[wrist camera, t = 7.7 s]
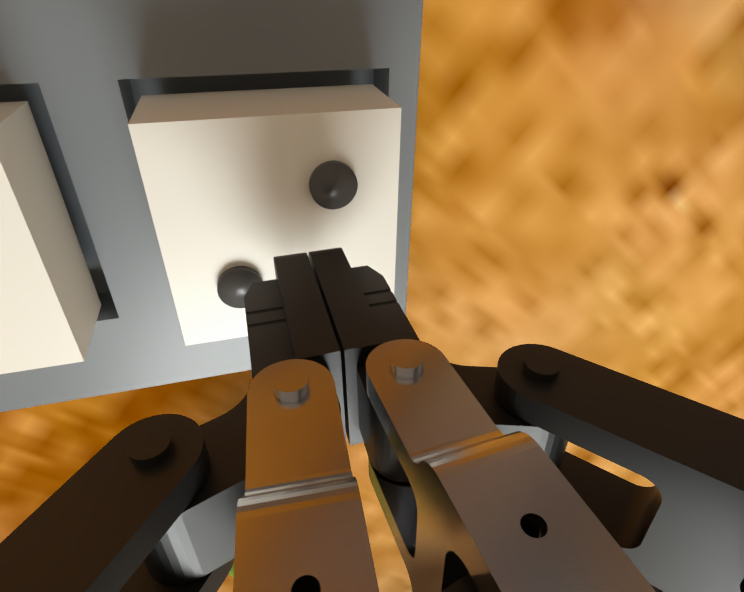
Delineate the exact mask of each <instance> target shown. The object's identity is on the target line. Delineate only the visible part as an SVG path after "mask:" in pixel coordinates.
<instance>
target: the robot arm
mask: <svg viewBox="0 0 744 592" xmlns="http://www.w3.org/2000/svg"><path fill="white" fill-rule="evenodd" d="M273 260H274V268H275V275H276V279H274V280H267V281H260V282H254V283H252V284H251V286H250V288H249V289H248V291H247V293H246V294H245V296H244V304H245V313H246V322H247V332H248V341H249V350H250V360H251V369H252V381H251V383H250V385H249V387H248V392H247V395H246V396H245V398H244V399H243V400H242V401H241V402H240V403H239V404H238V405H237V406H235V407H234V408H233V409H232V410H230V411H229V412H227V413H225V414H223V415H222V416H220V417H218V418H215V419H213V420H211V421H209V422H207V423H205V424H202V425H200V426H199V425H198V424H197V423H196V422H195V421H193V420H192V419H190V418H188V417H186V416H182V415H177V414H162V415H156V416H152V417H148V418H145V419H142V420H140V421H137V422H136V423H134V424H132V425H130V426H128V427H127V428H125V429H124V430H122V431H121V432H120V433H118V434H117V435H116V436H115V437H114V438H113V439H112V440H111V441H109V442H108V443H107V444H106V445H105V446H104V447H103V448H102V449H101V450H100V451H99V452H98V453H97V454H96V455H94V456H93V457H92V458H91V459H90V460H89V461H88V462H87V463H86V464H85V465H84V466H83V467H82V468H81V469H79V470H78V471H77V472H76V473H75V474H74V475H73V476H72V477H71V478H70V479H69V480H68V481H67V482H66V483H64V484H63V485H62V486H61V487H60V488H59V489H58V490H57V491H56V492H55V493H54V494H53V495H52V496H51V497H49V498H48V499H47V500H46V501H45V502H44V503H43V504H42V505H41V506H40V507H39V508H38V509H37V510H36V511H34V512H33V513H32V514H31V515H30V516H29V517H28V518H27V519H26V520H25V521H24V522H23V523H22V524H21V525H19V526H18V527H17V528H16V529H15V530H14V531H13V532H12V533H11V534H10V535H9V536H8V537H7V538H6V539H4V540H3V541H2V542H1V543H0V592H217V591H218V589H219V588H220V586H221V585H222V583H223V581H224V580H225V578H226V577H227V575H228V574H229V572H230V570H231V568H232V565H233V563H234V583H233V592H379V588H378V583H377V578H376V573H375V568H374V563H373V558H372V553H371V548H370V543H369V538H368V532H367V527H366V522H365V517H364V512H363V507H362V502H361V497H360V492H359V488H358V484H357V480H356V478H355V477H353V476H352V471H351V466H350V461H349V456H348V450H347V444H346V433H347V437H348V440H349V444H350V445H354V444H358V443H363V442H364V444H365V447H366V450H367V453H368V459H369V477H370V480H371V483H372V485H373V487H374V490H375V492H376V495H377V497H378V500H379V502H380V504H381V507H382V509H383V512H384V514H385V517H386V519H387V521H388V524H389V526H390V529H391V531H392V534H393V536H394V538H395V541H396V543H397V546H398V548H399V551H400V553H401V555H402V558H403V560H404V563H405V565H406V568H407V571H408V574H409V577H410V581H411V585H412V591H413V592H744V420H743V419H741V418H738V417H735V416H733V415H730V414H727V413H725V412H722V411H720V410H717V409H714V408H712V407H709V406H706V405H704V404H701V403H698V402H696V401H693V400H690V399H688V398H685V397H682V396H680V395H677V394H674V393H672V392H669V391H667V390H664V389H661V388H659V387H656V386H653V385H651V384H648V383H645V382H643V381H640V380H637V379H635V378H632V377H629V376H627V375H624V374H621V373H619V372H616V371H614V370H611V369H608V368H606V367H603V366H600V365H598V364H595V363H592V362H590V361H587V360H584V359H582V358H579V357H576V356H574V355H571V354H568V353H566V352H563V351H561V350H558V349H555V348H552V347H549V346H544V345H538V344H523V345H518V346H514V347H512V348H509V349H508V350H506V351H505V352H504V353H503V354H502V355H501V356H500V358H499V361H498V365H497V367H476V366H461V365H456V364H452V363H449V361H448V360H447V359H446V357H445V356H444V355H443V353H442V352H441V351H440V350H438V349H437V348H436V347H434V346H432V345H430V344H428V343H426V342H422V341H420V340H419V338H418V337H417V335H416V333H415V331H414V329H413V328H412V326H411V324H410V322H409V321H408V319H407V317H406V315H405V314H404V312H403V310H402V308H401V307H400V305H399V303H397V299H396V298H395V296H394V294H393V292H391V289H390V287H389V285H388V284H387V282H386V280H385V278H384V276H383V275H381V274H380V273H378V272H377V271H375V270H374V269H372V268H371V267H369V266H368V265H366V266H360V267H353V268H351V266H350V264H349V262H348V260H347V258H346V256H345V254H344V252H343V250H342V248H341V247H339V248H332V249H325V250H318V251H311V252H308V255H307V253H306V252H305V253H297V254H290V255H283V256H276V257H273ZM568 441H569V442H571V443H573V444H575V445H577V446H580V447H582V448H584V449H586V450H588V451H590V452H592V453H595V454H597V455H599V456H601V457H603V458H605V459H607V460H610V461H612V462H614V463H616V464H618V465H620V466H622V467H625V468H627V469H629V470H631V471H633V472H635V473H637V474H640V475H642V476H644V477H645V478H647V479H648V480H650V481H651V482H652V483H653V484H654V485H655V486H653V487H642V486H638V485H635V484H633V483H631V482H628V481H626V480H624V479H622V478H620V477H618V476H616V475H614V474H612V473H610V472H607V471H605V470H603V469H601V468H599V467H597V466H595V465H593V464H591V463H589V462H587V461H584V460H582V459H580V458H578V457H576V456H574V455H572V454H570V453H568V452H566V451H565V449H566V446H567V443H568Z"/></svg>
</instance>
